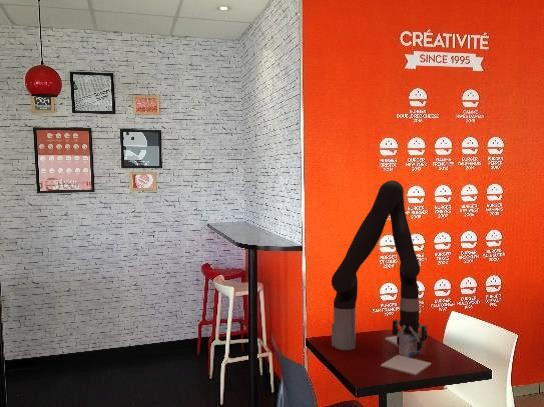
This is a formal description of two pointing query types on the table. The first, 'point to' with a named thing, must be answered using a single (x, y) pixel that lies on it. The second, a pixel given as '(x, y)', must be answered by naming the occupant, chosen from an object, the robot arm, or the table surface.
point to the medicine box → (407, 345)
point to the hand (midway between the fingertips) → (409, 348)
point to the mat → (406, 365)
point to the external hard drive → (392, 340)
